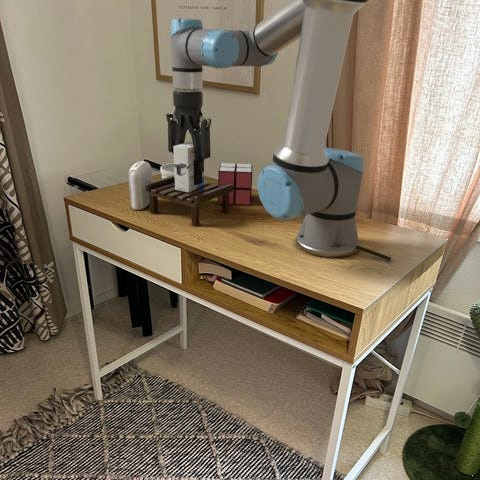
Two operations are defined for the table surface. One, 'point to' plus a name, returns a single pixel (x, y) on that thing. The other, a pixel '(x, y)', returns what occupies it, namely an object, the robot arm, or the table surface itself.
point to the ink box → (185, 168)
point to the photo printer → (139, 184)
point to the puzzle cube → (236, 182)
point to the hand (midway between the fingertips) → (189, 181)
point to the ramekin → (167, 170)
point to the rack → (187, 196)
